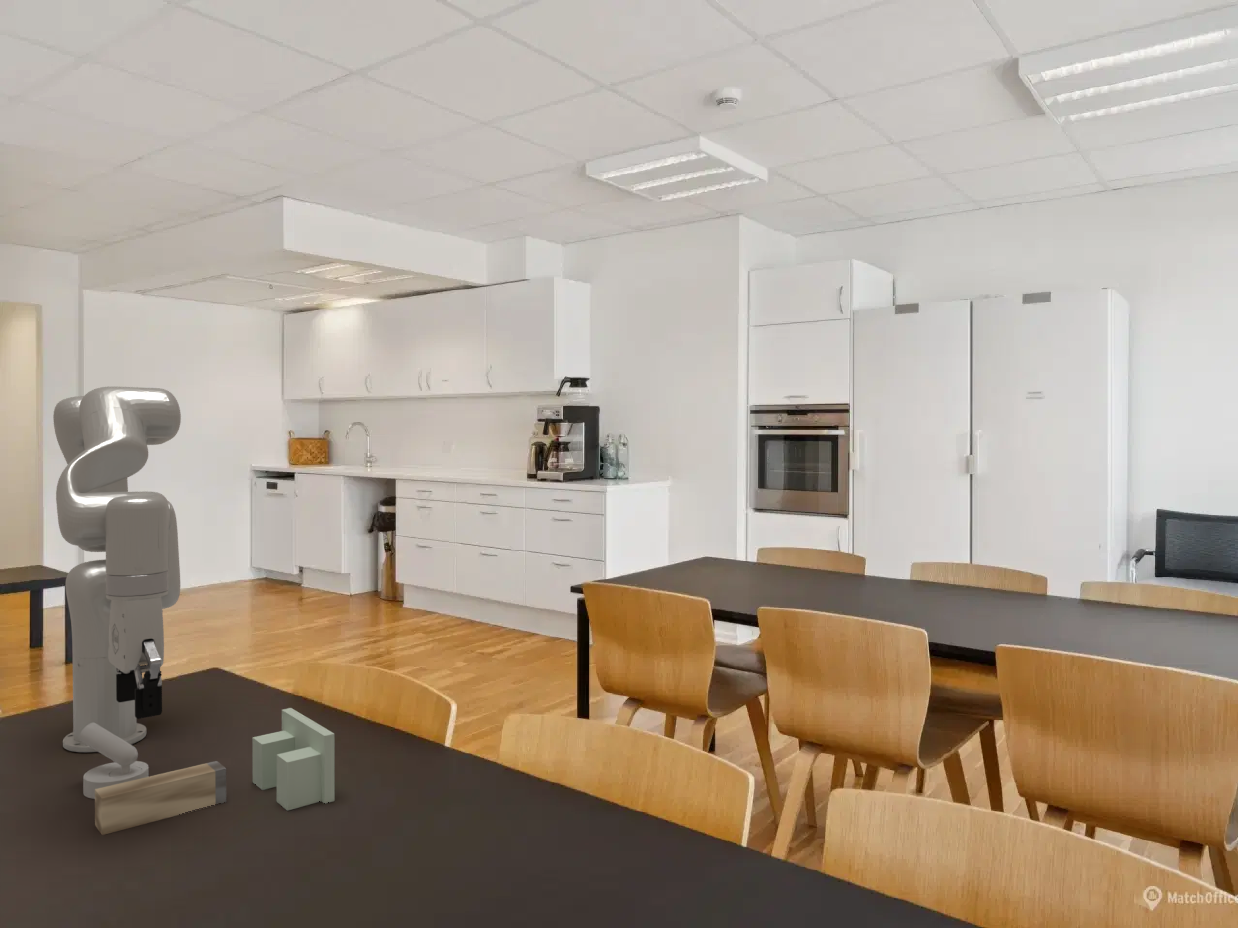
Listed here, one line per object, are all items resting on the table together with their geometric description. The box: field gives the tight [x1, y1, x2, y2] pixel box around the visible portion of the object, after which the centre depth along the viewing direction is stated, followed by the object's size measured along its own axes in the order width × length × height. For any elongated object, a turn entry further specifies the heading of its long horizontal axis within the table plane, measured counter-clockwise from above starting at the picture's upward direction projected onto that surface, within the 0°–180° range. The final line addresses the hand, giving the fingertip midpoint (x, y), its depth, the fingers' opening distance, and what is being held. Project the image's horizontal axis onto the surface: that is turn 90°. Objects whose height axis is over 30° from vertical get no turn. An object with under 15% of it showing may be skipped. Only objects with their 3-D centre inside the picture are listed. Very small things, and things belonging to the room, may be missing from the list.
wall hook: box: [79, 723, 150, 800], centre depth 133 cm, size 9×10×10 cm
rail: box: [94, 760, 227, 836], centre depth 124 cm, size 4×16×5 cm, turn 132°
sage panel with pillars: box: [251, 707, 336, 812], centre depth 132 cm, size 16×6×10 cm, turn 43°
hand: (138, 707), depth 121 cm, fingers open, 9 cm apart
